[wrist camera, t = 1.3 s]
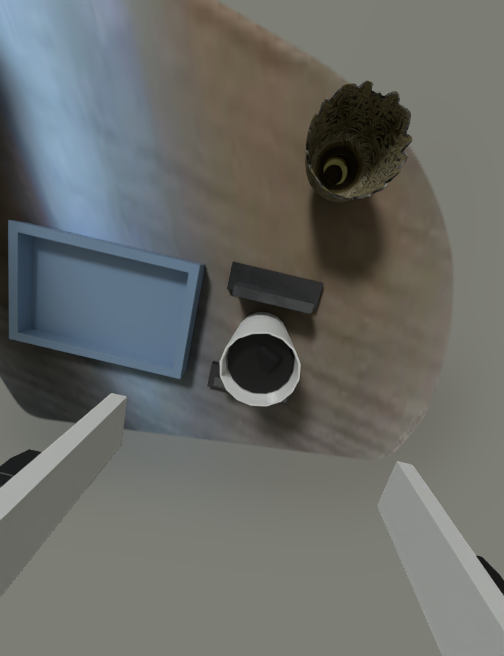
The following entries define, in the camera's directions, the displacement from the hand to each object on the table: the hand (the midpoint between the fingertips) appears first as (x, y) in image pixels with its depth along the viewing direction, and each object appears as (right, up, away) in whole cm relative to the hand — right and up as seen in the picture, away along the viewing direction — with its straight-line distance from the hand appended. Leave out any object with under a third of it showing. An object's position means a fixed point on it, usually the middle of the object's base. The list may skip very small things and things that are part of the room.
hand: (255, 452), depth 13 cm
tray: (-17, +9, +19) cm, 27 cm away
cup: (+8, +21, +14) cm, 27 cm away
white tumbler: (+1, +5, +19) cm, 20 cm away
